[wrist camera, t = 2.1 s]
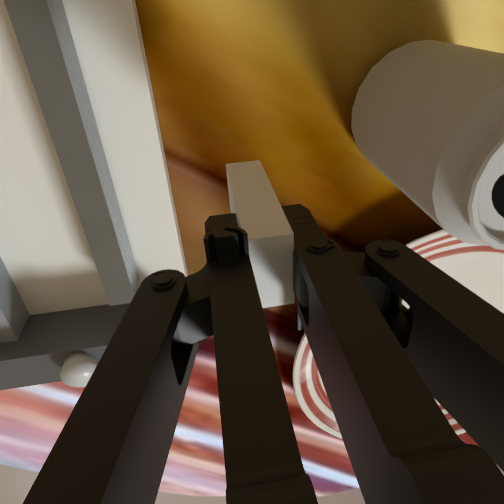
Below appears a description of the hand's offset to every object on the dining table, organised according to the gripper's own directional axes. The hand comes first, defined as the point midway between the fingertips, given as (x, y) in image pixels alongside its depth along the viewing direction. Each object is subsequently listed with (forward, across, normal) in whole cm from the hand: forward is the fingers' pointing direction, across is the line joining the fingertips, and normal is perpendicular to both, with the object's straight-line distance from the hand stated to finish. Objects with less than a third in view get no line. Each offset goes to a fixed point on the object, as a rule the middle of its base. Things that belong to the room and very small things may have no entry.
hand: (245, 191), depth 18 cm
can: (+8, +11, +1) cm, 13 cm away
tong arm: (+6, -8, 0) cm, 10 cm away
